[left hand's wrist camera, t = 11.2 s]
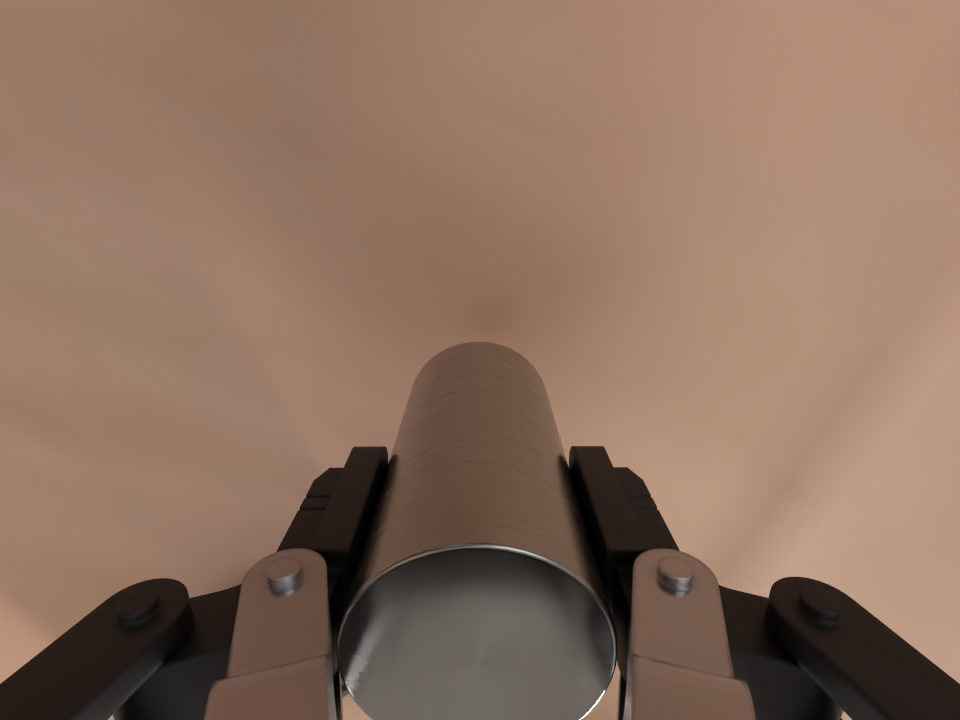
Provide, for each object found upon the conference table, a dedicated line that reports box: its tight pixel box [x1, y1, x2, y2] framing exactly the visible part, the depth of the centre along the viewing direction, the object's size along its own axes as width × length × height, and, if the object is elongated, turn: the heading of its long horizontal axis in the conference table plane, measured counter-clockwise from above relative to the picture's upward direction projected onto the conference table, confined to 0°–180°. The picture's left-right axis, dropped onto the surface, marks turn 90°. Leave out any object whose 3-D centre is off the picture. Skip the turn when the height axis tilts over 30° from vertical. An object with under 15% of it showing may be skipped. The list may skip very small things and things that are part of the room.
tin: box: [336, 342, 618, 720], centre depth 12 cm, size 4×4×9 cm
